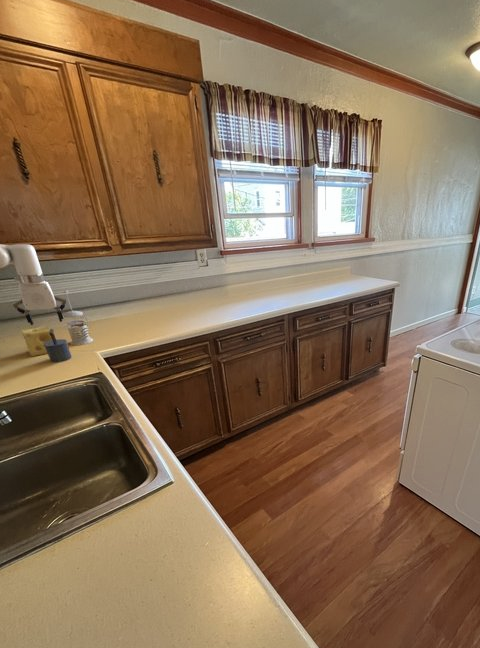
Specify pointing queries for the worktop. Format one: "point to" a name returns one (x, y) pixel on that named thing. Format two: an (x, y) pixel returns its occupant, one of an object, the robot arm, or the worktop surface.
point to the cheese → (37, 340)
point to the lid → (54, 340)
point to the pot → (59, 353)
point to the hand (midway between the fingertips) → (47, 322)
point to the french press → (76, 337)
